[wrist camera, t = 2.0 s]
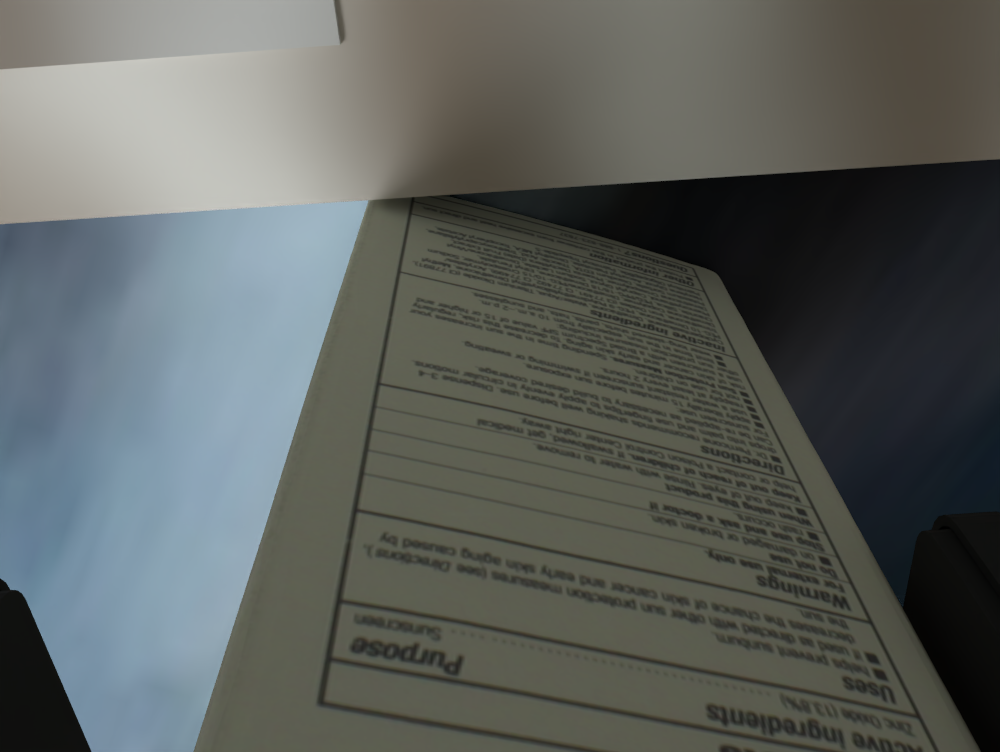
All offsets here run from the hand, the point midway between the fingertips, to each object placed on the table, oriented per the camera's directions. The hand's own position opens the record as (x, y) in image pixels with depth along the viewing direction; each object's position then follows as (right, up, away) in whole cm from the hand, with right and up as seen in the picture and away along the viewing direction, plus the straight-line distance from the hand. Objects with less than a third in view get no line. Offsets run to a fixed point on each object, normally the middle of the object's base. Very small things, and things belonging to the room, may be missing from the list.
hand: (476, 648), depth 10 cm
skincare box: (+1, +4, +7) cm, 8 cm away
